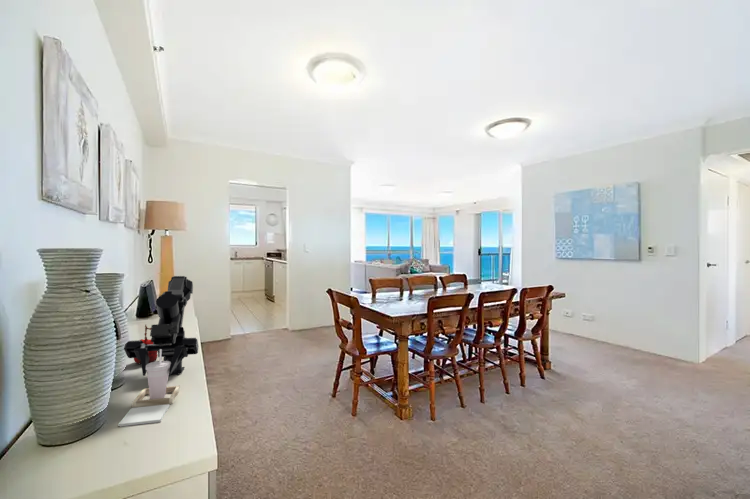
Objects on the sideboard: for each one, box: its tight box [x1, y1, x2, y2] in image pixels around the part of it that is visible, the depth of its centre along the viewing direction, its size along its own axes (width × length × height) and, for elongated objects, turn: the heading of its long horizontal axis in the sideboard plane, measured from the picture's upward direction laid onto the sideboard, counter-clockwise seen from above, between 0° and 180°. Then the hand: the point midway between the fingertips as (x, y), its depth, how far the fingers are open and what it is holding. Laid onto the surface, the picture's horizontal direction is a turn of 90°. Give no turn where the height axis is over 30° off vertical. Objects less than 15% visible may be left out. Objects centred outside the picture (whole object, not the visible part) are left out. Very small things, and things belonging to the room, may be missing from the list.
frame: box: [131, 385, 181, 408], centre depth 100 cm, size 10×10×2 cm
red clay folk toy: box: [133, 324, 158, 365], centre depth 131 cm, size 8×7×15 cm
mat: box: [117, 404, 171, 427], centre depth 89 cm, size 9×9×1 cm
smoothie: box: [146, 349, 171, 399], centre depth 100 cm, size 6×6×14 cm
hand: (157, 374), depth 99 cm, fingers closed on smoothie, 6 cm apart
